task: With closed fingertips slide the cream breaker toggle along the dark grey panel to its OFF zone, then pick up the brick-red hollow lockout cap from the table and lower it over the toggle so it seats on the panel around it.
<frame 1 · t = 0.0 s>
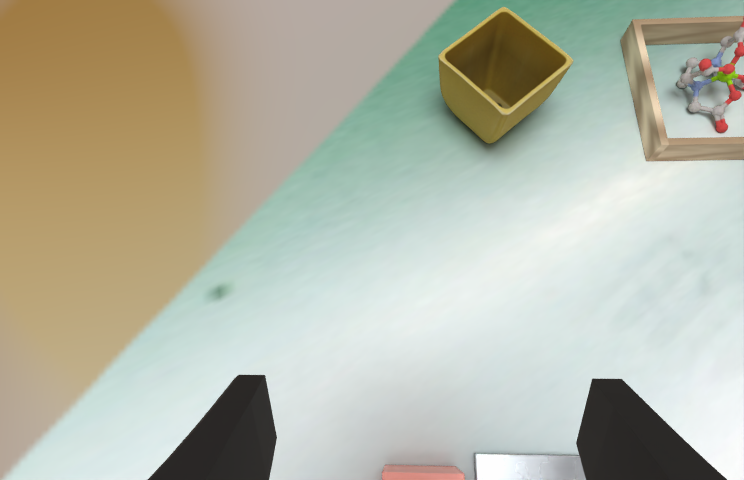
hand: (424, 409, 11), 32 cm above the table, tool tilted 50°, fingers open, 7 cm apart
flower pot: (488, 118, 51), on the table
molecular model: (707, 99, 51), on the table
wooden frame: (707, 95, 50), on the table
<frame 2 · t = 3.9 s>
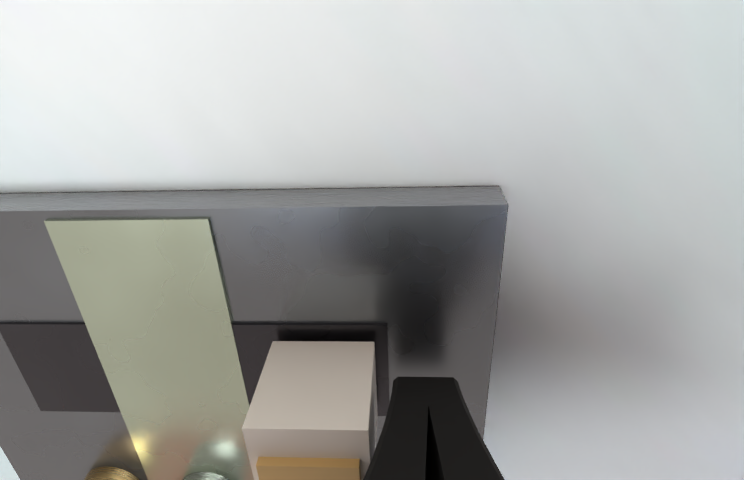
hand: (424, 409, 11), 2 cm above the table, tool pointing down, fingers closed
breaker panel: (231, 371, 14), on the table
breaker toggle: (319, 424, 11), point 3 cm above the table, slide at 0.0 cm, touching gripper
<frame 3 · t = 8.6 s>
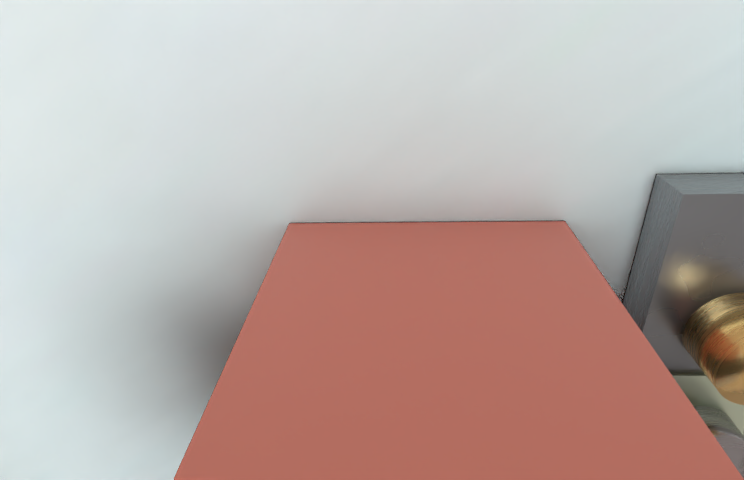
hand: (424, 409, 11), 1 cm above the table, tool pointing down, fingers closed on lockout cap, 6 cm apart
lockout cap: (421, 365, 12), on the table, touching gripper
when the fingers open (4 cm above the table, at t = 12.0 s): lockout cap stays where it is, resting on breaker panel.
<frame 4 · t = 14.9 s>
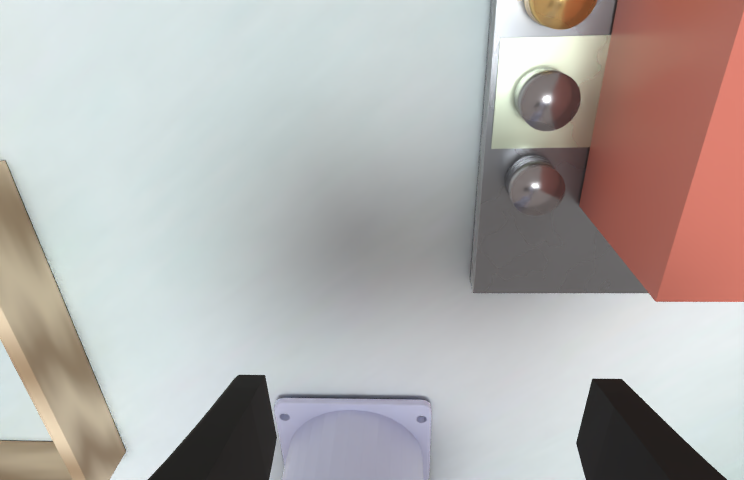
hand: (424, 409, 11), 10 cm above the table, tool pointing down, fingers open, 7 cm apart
lockout cap: (691, 93, 16), point 1 cm above the table, touching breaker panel
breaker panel: (638, 115, 17), on the table
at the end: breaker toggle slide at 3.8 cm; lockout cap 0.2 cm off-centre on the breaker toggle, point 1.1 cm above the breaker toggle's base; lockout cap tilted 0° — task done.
